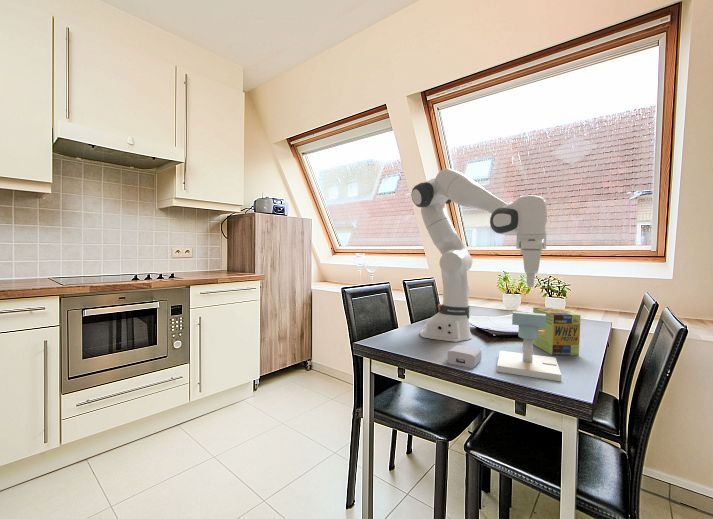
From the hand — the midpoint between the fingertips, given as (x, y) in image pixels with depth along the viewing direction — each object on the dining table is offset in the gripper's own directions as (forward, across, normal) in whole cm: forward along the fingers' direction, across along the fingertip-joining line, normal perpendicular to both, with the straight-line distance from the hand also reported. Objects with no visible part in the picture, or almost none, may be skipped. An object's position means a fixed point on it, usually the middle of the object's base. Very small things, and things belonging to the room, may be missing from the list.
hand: (530, 285), depth 115 cm
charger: (+28, +1, -20) cm, 34 cm away
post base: (+28, 0, 0) cm, 28 cm away
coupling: (+17, 0, 0) cm, 17 cm away
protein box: (+28, -28, +10) cm, 41 cm away
